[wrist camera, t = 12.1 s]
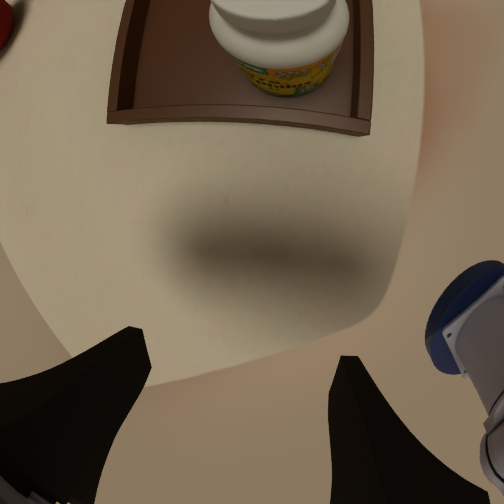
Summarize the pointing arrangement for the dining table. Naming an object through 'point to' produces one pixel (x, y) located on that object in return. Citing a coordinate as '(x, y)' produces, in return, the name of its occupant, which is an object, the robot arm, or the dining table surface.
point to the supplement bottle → (281, 40)
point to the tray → (228, 74)
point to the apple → (5, 22)
